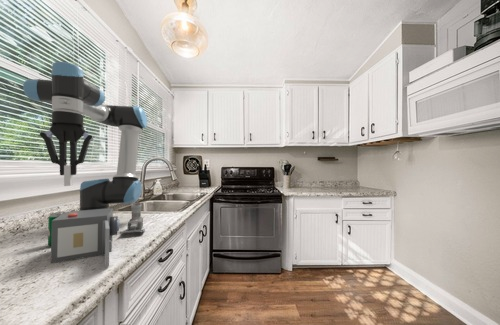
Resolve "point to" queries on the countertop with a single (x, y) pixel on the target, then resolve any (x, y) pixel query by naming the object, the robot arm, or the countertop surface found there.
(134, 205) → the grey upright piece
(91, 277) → the countertop surface
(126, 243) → the countertop surface
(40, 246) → the countertop surface
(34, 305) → the countertop surface
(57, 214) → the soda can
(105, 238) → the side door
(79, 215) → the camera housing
